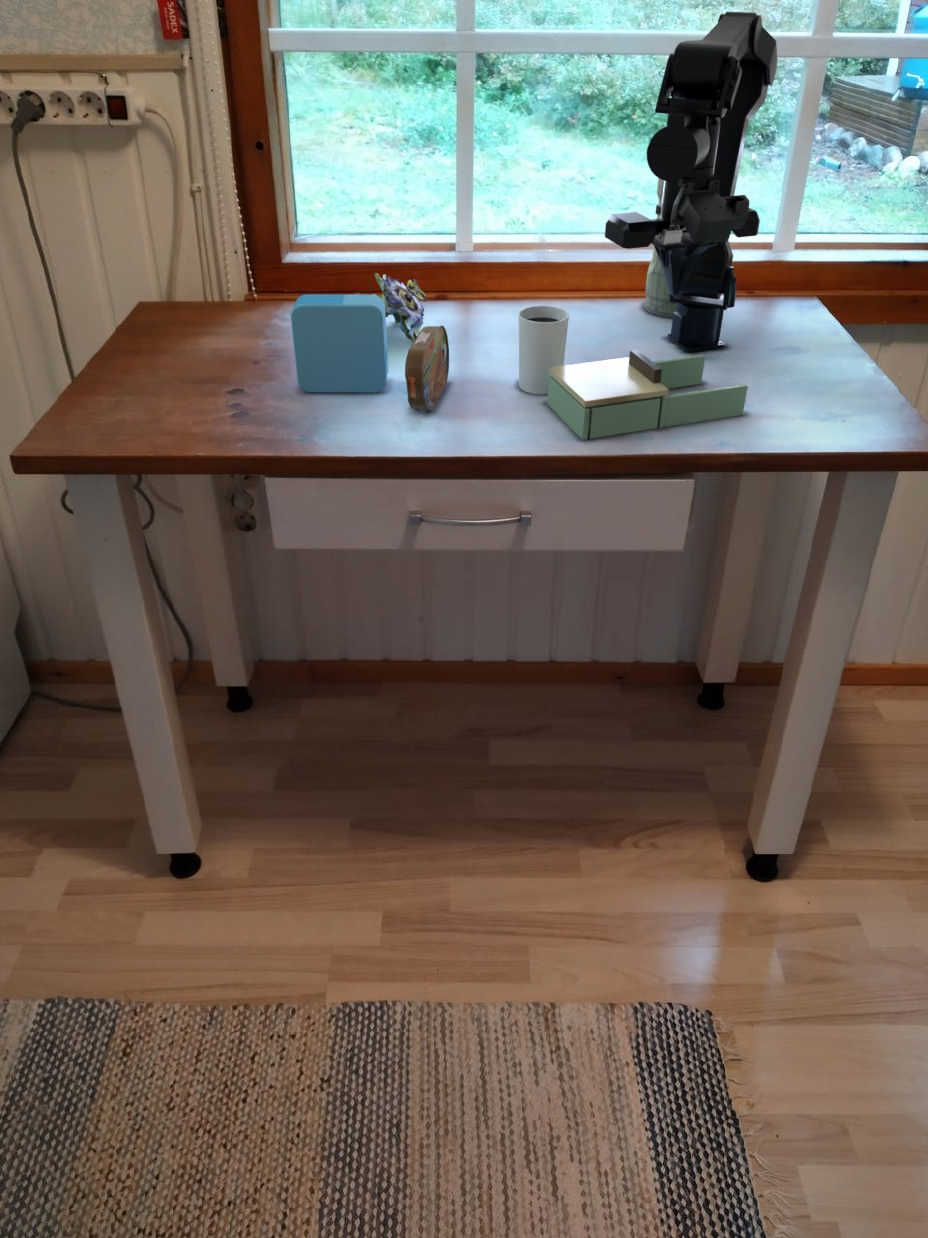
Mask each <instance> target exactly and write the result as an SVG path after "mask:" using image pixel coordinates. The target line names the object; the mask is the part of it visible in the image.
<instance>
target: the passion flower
mask: <svg viewBox="0 0 928 1238" xmlns="http://www.w3.org/2000/svg"><path fill="white" fill-rule="evenodd" d="M373 275H374V278H375V280H376V282H377V284H378V286H379V288H380V289H381V292H382V294H381V295H380V296H379V297H380V298H381V299H382V300H383V302H384V304H385V315H386V318H388V317H389V316H393V319H394V323H395V325H398V324H399V329H400V331H401V332H402V333H404V335H405V337H406V339H408V340H410V341H412V342H414V341H415V339H416V338H417V336H418V334H419V333H420V331H421V330H420V328H421V327H422V325H424V317H425V314H424V312H425V307H424V305H423V304H422V303H420V301H422V302H427V301H428V300H427V298H426V293H424V291H423V290H421V288H420V287H419V284H418V281H417V280H416V279H412V280H411V279H409V280H407V282H406V285H405V284H404V282H399V281H400V280H399V278H396V279H393V278H391V277H390V276H387V274H386V273H385V274H383V275H382V277H380V274H379V273H377V272H374V274H373ZM354 295H362V294H361V293H360V292H355V293H354ZM371 295H377V296H378V294H377V293H372V294H371Z"/></svg>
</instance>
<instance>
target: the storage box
mask: <svg viewBox="0 0 928 1238" xmlns="http://www.w3.org/2000/svg"><path fill="white" fill-rule="evenodd" d="M705 360H706V356H705V355H704V354H698V355H691V356H683V357H675V358H669V359H661V360H654V361H653V360H652V362H654V363H655V364H656V365H657V366H659V367H660V368H661V369H662V375H661V382H660V383H661V384H662V385H664V386H665V387H666V388H667V389H675V388H683V387H689V386H696V385H701V384H702V383H703V382H702V381H703V375H704V368H705ZM748 388H749V386H748V385H747V384H745V383H743V384H736V385H730V386H723V387H716V388H709V389H702V390H696V391H689V392H682V393H674V394H668V395H666V396H659V397H652V398H645V399H638V400H632V401H625V402H618V403H611V404H604V405H597V406H591V407H584V406H583V405H582V404H581V403H580V402H578V401H577V400H576V399H575V398H574V397H573V396H572V395H571V394H570V393H569V392H568V391H567V390H566V389H565V388H564V387H563V386H562V385H561V384H560V383H559V382H557V381H556V380H555V379H554V378H553V377H552V376H551V375H549V379H548V394H547V397H546V398H547V401H546V404H547V406H549V408H551V410H553V412H554V413H556V415H558V417H559V418H560V419H561V420H562V421H563V422H564V423H565V424H566V425H567V426H568V427H569V428H570V429H571V430H572V431H573V432H574V433H575V434H576V435H577V436H578V437H579V438H580V439H581V440H583V441H584V440H588V438H589V439H596V438H603V437H610V436H616V435H617V436H618V435H622V434H629V433H635V432H642V431H649V430H654V429H658V428H660V429H662V428H668V427H673V426H674V427H675V426H681V425H686V424H693V423H698V422H699V423H700V422H706V421H712V420H718V419H719V420H720V419H725V418H731V417H738V416H743V415H744V410H745V404H746V398H747V393H748Z"/></svg>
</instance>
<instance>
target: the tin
mask: <svg viewBox="0 0 928 1238" xmlns="http://www.w3.org/2000/svg"><path fill="white" fill-rule="evenodd" d="M412 342H413V343H412V344H411V346H409V348H408V351H407V354H406V357H405V362H404V363H405V365H404V377H405V382H406V392H407V402H408V404H409V407H410V408H411V409H413V410H426V411H427V410H428V411H432V410H434V408H435V407H436V404H437V403H438V401H439V399H440V397H441V395H442V393H443V391H444V390H445V388H446V386H447V383H448V379H449V373H450V346H449V337H448V333H447V330H446V328H445V326H444V325H436V326H435V325H427V326H424V327H422V328H421V330H420V333H419V334H418V336H417V338H416V339H414V341H412Z"/></svg>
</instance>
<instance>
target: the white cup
mask: <svg viewBox="0 0 928 1238" xmlns="http://www.w3.org/2000/svg"><path fill="white" fill-rule="evenodd" d="M569 320H570V314H569V312H568V311H567V310H565V309H563V308H561V307H557V306H552V305H533V306H528V307H525V308H522V309H521V310H519V312H518V379H519V380H518V385H519V389H520V390H522V391H524V392H525V393H528V394H532V395H548V379H549V375H550V374H549V368H550V367H557V366H565V365H564V364H565V355H566V354H565V353H566V346H567V337H568V328H569V327H568V326H569Z"/></svg>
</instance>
